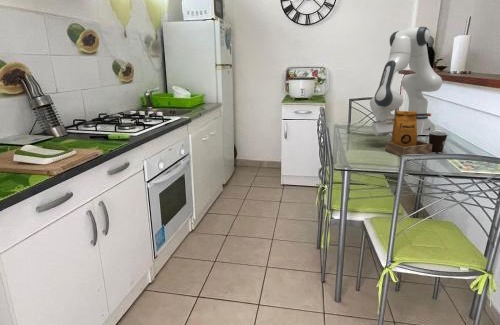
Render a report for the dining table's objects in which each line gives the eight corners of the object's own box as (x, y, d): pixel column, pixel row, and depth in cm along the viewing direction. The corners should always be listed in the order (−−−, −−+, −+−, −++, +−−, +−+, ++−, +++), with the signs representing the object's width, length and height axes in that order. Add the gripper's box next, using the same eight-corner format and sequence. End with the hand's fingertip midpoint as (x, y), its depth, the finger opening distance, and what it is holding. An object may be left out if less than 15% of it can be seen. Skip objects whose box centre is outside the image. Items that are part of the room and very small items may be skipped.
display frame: (411, 147, 188) (412, 138, 187) (431, 153, 176) (432, 144, 174) (384, 150, 183) (385, 141, 182) (403, 157, 170) (404, 147, 169)
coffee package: (416, 153, 177) (422, 112, 170) (391, 152, 180) (396, 111, 173) (413, 148, 186) (418, 109, 179) (389, 147, 189) (393, 109, 182)
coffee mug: (435, 154, 174) (438, 135, 171) (422, 150, 182) (425, 132, 179) (452, 152, 177) (455, 134, 174) (439, 148, 185) (442, 130, 182)
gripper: (373, 118, 187) (382, 138, 181) (402, 116, 193) (413, 135, 187) (367, 124, 193) (376, 144, 187) (396, 122, 199) (406, 141, 193)
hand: (395, 140), depth 187 cm, fingers closed
